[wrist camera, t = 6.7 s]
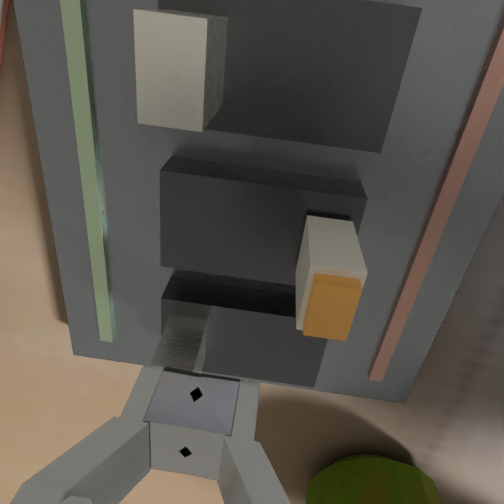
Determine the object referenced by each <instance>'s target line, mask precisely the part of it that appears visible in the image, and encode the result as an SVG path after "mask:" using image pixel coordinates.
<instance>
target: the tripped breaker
mask: <svg viewBox="0 0 504 504" xmlns="http://www.w3.org/2000/svg"><path fill="white" fill-rule="evenodd" d="M295 274H296V329H297V330H303V335H306V336H313V337H320V338H327V339H334V340H341V341H346V339H347V336H348V333H349V330H350V327H351V324H352V321H353V318H354V314H355V311H356V308H357V305H358V302H359V299H360V296H361V292H362V289H363V286H364V283H365V280H366V277H367V274H368V273H367V269H366V266H365V262H364V259H363V255H362V252H361V248H360V245H359V241H358V238H357V234H356V231H355V227H354V224H353V222H352V221H345V220H338V219H331V218H324V217H316V216H309V215H307V218H306V223H305V228H304V233H303V237H302V242H301V247H300V252H299V257H298V262H297V267H296V272H295Z"/></svg>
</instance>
